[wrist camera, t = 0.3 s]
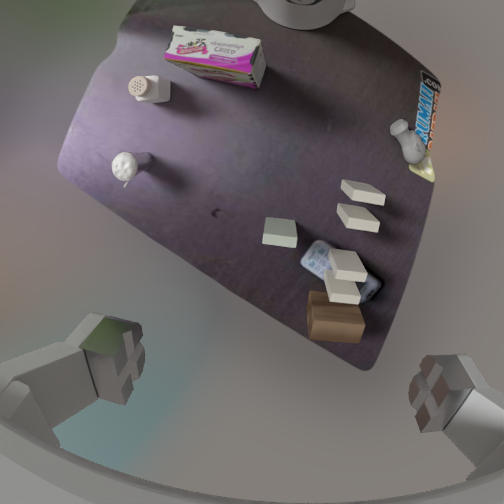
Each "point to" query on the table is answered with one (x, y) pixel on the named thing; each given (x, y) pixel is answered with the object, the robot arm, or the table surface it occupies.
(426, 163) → the table surface
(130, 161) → the milkshake
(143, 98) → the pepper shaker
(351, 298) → the domino
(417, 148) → the smooth white sculpture
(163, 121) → the table surface
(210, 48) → the candy bar box
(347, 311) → the end block
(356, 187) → the domino
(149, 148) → the table surface
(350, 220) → the domino
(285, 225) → the domino
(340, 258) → the domino
